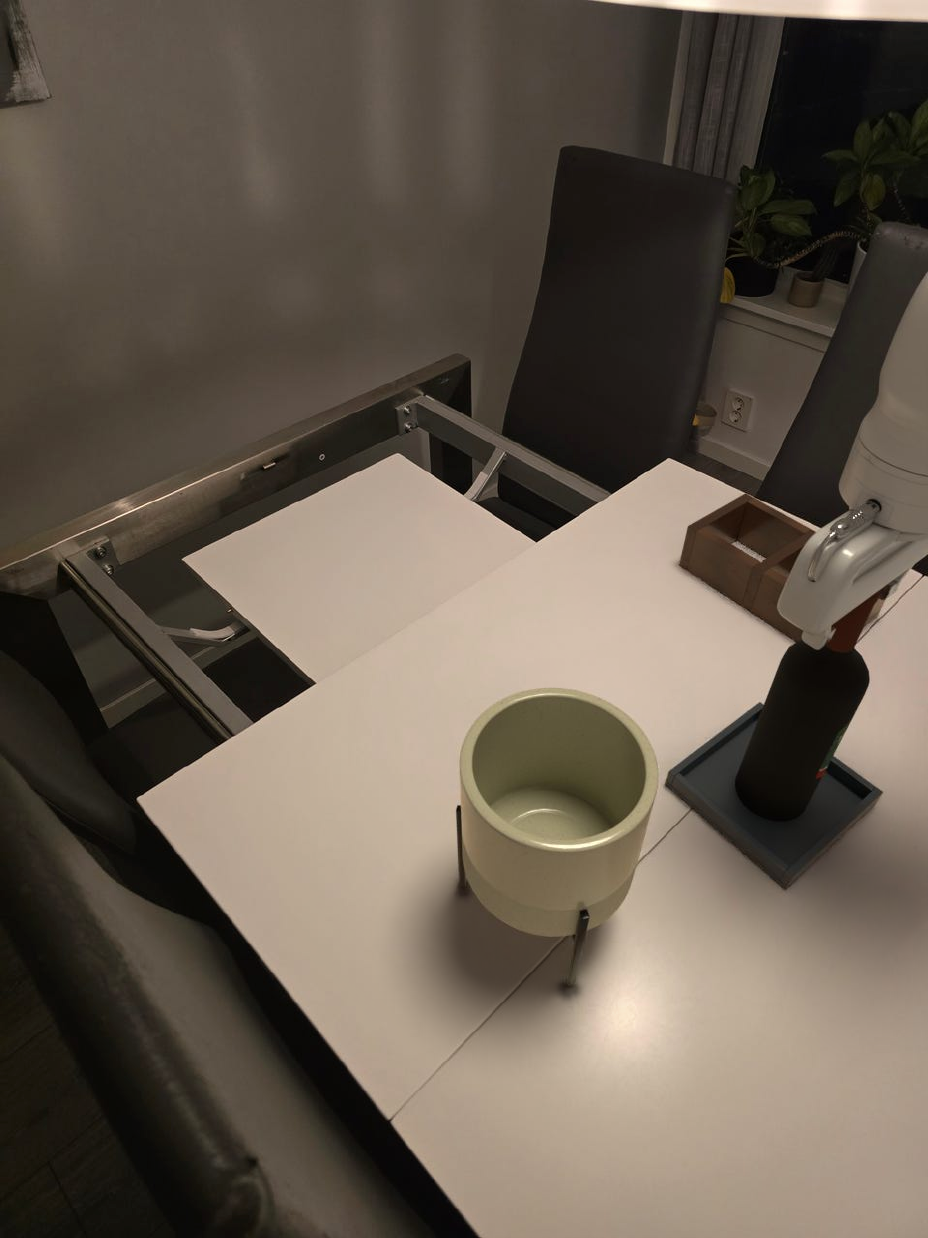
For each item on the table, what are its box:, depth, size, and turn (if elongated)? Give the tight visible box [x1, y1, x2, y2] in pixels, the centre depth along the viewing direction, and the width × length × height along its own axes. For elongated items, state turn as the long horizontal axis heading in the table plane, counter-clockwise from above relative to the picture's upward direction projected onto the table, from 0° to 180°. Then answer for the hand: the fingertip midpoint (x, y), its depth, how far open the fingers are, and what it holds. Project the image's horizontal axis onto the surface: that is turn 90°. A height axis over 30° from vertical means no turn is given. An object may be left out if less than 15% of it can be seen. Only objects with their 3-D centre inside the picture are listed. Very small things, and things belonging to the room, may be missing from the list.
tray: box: [664, 701, 884, 890], centre depth 84 cm, size 16×16×2 cm
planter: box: [455, 687, 660, 988], centre depth 68 cm, size 15×16×23 cm
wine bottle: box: [735, 588, 882, 821], centre depth 74 cm, size 8×8×30 cm
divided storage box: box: [678, 492, 887, 643], centre depth 106 cm, size 24×12×7 cm, turn 38°
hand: (848, 616), depth 66 cm, fingers open, 8 cm apart
